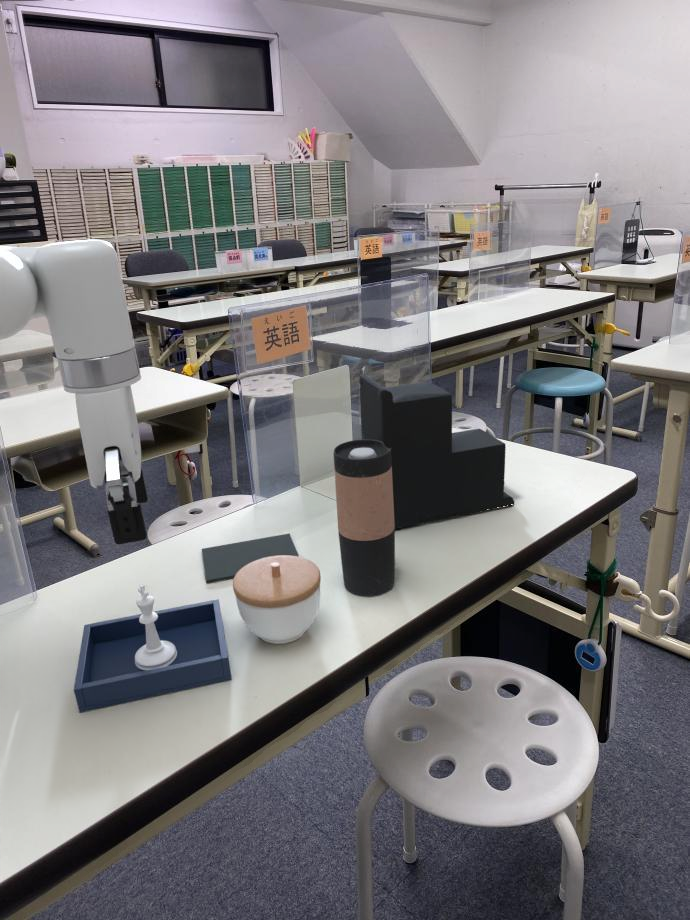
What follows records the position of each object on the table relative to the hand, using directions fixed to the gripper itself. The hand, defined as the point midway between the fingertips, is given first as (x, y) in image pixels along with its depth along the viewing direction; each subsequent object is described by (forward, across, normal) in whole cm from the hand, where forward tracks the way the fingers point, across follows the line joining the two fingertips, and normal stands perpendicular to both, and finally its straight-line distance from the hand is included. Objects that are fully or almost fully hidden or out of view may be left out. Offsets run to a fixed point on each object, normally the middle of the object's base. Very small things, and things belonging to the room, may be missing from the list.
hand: (132, 521), depth 75 cm
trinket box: (+19, -1, +15) cm, 24 cm away
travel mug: (+20, -8, +28) cm, 35 cm away
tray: (+19, 0, -1) cm, 19 cm away
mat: (+19, -21, +13) cm, 31 cm away
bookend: (+20, -27, +46) cm, 57 cm away
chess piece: (+18, 0, -1) cm, 18 cm away
